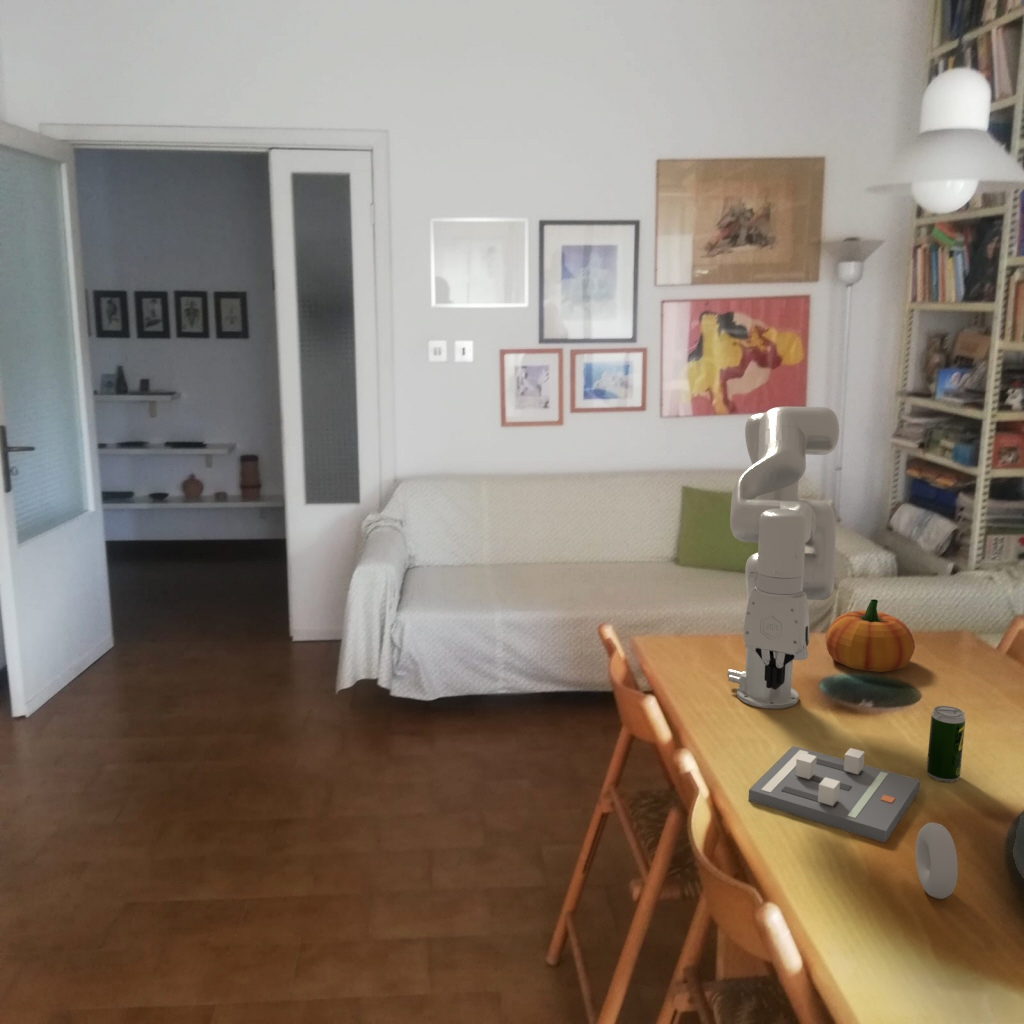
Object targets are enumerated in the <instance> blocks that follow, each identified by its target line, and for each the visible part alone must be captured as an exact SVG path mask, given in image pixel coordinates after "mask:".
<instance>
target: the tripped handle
mask: <svg viewBox="0 0 1024 1024" xmlns="http://www.w3.org/2000/svg"><path fill="white" fill-rule="evenodd" d="M816 759H817V756H814V755H810V754H806V753H802V754H801V755H800V756H799V757H798V758H797V760H796V776H800V777H803V778H807V779H810V778H811V777H812V776H813V775H814V774H815V773H816Z"/></svg>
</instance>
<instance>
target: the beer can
mask: <svg viewBox="0 0 1024 1024" xmlns="http://www.w3.org/2000/svg"><path fill="white" fill-rule="evenodd" d="M965 727H966V717H965V712H964V711H963V710H962V709H960V708H958V707H954V706H950V705H949V706H948V705H938V706H935V707H933V709H932V712H931V715H930V727H929V728H930V729H929V739H928V747H927V748H928V750H927V752H928V753H927V759H926V760H927V761H926V762H927V763H926V771H927V774H928V776H929V777H930V778H932V779H934V780H936V781H938V782H942V783H954V782H956V781H958V780H959V778H960V777H961V769H962V756H963V748H964V739H965V738H964V737H965ZM957 779H958V780H957Z"/></svg>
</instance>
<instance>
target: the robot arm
mask: <svg viewBox="0 0 1024 1024" xmlns="http://www.w3.org/2000/svg"><path fill="white" fill-rule="evenodd" d="M744 435H745V436H744V437H745V444H746V448H747V452H748V455H749V459H750V461H751V462H750V463H751V464H752V465H751V466H750V467H748V468H747V469H746V470H745V471H744V472H742V474H741V475H740V476H739V478H738V479H737V481H736V482H735V484H734V486H733V489H732V493H731V503H730V514H729V515H730V517H729V519H730V520H729V525H730V530H731V533H732V537H734V538H735V539H737V540H738V541H740V542H744V543H758V544H757V545H758V547H757V552H755V553H753V554H751V555H750V556H749V557H748V558H747V561H746V563H745V568H744V570H745V571H744V572H745V573H744V574H745V583H746V592H747V593H746V595H747V605H746V610H745V611H746V612H745V617H744V623H743V624H744V625H743V642H744V647H745V648H746V650H745V666H744V667H745V668H744V670H743V671H739V670H736V669H731V668H729V669H728V671H727V675H726V676H727V680H728V682H731V683H737V684H738V685H739V686H738V687H737V688H736V696H737V698H738V699H739V700H740V701H741V702H743V703H745V704H747V705H749V706H752V707H755V708H756V707H757V708H762V709H770V710H772V709H773V710H776V709H778V710H779V709H785V708H786V709H787V708H790V707H793V706H795V705H796V704H797V703H798V702H799V697H800V695H799V693H798V691H797V690H795V688H792V684H793V683H792V682H793V681H792V679H793V663H794V661H805V660H806V659H808V657H809V651H808V646H809V643H810V612H809V611H810V609H809V602H808V601H825V600H827V599H830V597H831V596H832V595H833V591H834V587H835V577H836V576H835V575H836V540H837V539H836V536H837V531H836V530H837V526H836V516H835V515H836V514H835V511H834V509H833V507H832V505H830V504H829V503H828V502H825V501H822V500H821V501H820V500H811V499H809V500H805V499H800V498H799V481H800V480H801V479H802V477H803V476H804V474H805V472H806V469H807V462H806V455H808V456H809V455H812V456H813V455H814V456H817V455H818V456H824V455H828V454H830V453H832V452H833V451H834V450H835V449H836V447H837V446H838V442H839V437H840V425H839V420H838V417H837V414H836V413H835V412H834V410H832V409H831V408H829V407H824V406H820V407H819V406H787V405H786V406H785V405H784V406H777V407H772V408H770V409H769V410H767V411H766V412H759V413H755V414H752V415H751V416H750V417H749V418H747V421H746V422H745V427H744ZM806 547H807V548H809V549H810V550H811V553H810V552H806Z"/></svg>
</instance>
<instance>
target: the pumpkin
mask: <svg viewBox="0 0 1024 1024" xmlns="http://www.w3.org/2000/svg"><path fill="white" fill-rule="evenodd" d="M878 602H879V599H874V598H872V599H870V602H869V604H868V605H867V608H866V610H864V609H863V610H857V611H849V612H846V613H843V614H841V615H839V616H838V617H836V618H835V619H834V620H833V622H832V623H831V624H830V625H829V626H828V628H827V630H826V632H825V639H824V640H825V644H826V645H825V646H826V650H827V653H828V654H829V656H830V657H831V659H832V660H834V661H835V662H837V663H839V664H841V665H843V666H846V667H849V668H852V669H855V670H862V671H871V672H880V673H882V672H890V671H895V670H899V669H902V668H905V667H906V666H907V665H908V664H909V662H910V660H911V659H912V657H913V654H914V652H915V648H916V647H915V645H916V644H915V640H914V637H913V635H912V634H913V633H911V630H910V629H909V627H908V626H907V625H906V623H904V622H903V621H902V620H901V619H898V618H897V617H895V616H893V615H890V614H887V613H885V612H882V611H878V610H877V609H878V608H877V607H878Z"/></svg>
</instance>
